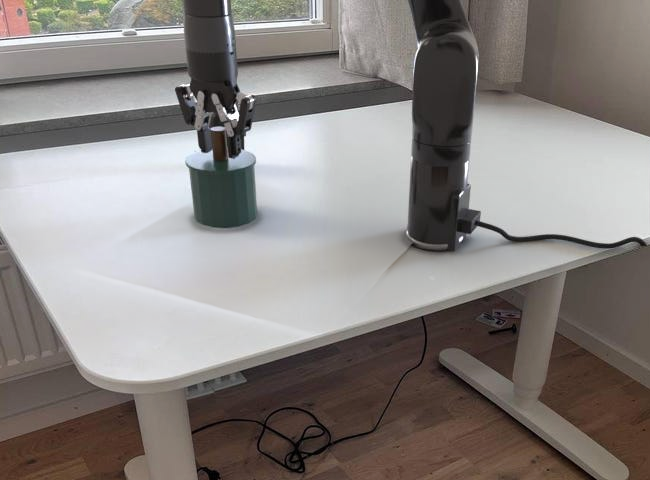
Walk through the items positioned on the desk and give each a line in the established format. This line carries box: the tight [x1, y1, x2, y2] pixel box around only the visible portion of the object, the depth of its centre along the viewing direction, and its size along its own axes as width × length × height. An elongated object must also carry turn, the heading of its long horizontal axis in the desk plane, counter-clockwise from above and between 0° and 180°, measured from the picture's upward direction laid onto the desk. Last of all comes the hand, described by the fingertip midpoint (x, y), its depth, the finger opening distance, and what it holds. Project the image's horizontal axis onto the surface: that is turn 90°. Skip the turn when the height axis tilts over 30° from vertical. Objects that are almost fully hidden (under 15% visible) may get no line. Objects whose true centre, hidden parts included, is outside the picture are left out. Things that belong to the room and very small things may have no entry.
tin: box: [188, 165, 258, 229], centre depth 131 cm, size 10×10×10 cm
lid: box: [184, 127, 257, 174], centre depth 127 cm, size 11×11×6 cm
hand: (220, 154), depth 127 cm, fingers open, 4 cm apart
